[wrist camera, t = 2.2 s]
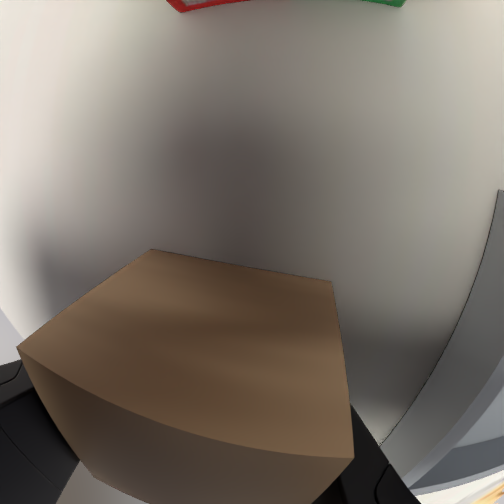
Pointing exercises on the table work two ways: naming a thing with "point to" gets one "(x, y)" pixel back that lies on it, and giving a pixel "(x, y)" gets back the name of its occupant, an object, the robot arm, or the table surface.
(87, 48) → the table surface
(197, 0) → the stack of blocks
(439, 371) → the grey tray
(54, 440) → the robot arm
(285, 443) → the walnut cube
